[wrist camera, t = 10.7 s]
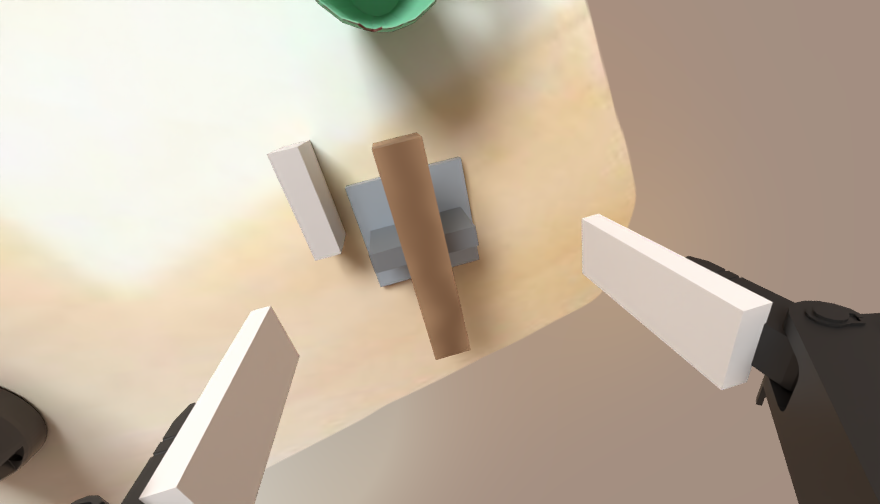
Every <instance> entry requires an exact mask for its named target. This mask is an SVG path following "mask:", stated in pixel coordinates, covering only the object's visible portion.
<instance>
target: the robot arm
mask: <svg viewBox="0 0 880 504" xmlns="http://www.w3.org/2000/svg"><path fill="white" fill-rule="evenodd" d="M582 274H584V275H585V276H586V277H587V278H588V279H590V280H591V281H592V282H593V283H594V284H596V285H597V286H598V287H599V288H600V289H602V290H603V291H604V292H605V293H606V294H607V295H609V296H610V297H611V298H612V299H613V300H615V301H616V302H617V303H618V304H619V305H621V306H622V307H623V308H624V309H626V310H627V311H628V312H629V313H630V314H632V315H633V316H634V317H635V318H636V319H637V320H638V321H640V322H641V323H642V324H643V325H645V326H646V327H647V328H648V329H649V330H650V331H652V332H653V333H654V334H655V335H656V336H658V337H659V338H660V339H661V340H663V342H665V343H666V344H667V345H668V346H670V347H671V348H672V349H673V350H674V351H675V352H677V353H678V354H679V355H681V356H682V357H683V358H684V359H685V360H686V361H687V362H689V363H690V364H691V365H692V366H693V367H695V368H696V369H697V370H698V371H699V372H701V373H702V374H703V375H704V376H705V377H706V378H708V379H709V380H710V381H711V382H712V383H714V384H715V385H716V386H717V387H718V388H720V389H721V390H724V389H727V388H730V387H733V386H736V385H739V384H742V383H745V382H747V380H748V377H749V373H750V370H751V367H752V366H753V367H755V368H756V369H758V370H759V371H761V372H762V373H763V374H765V376H764V378H763V381H762V384H761V387H760V389H759V392H758V395H757V399H756V404H757V405H762V404H763V401H764V398H765V397H767V400H768V404H769V407H770V410H771V414H772V417H773V420H774V424H775V427H776V430H777V433H778V437H779V440H780V443H781V446H782V450H783V453H784V456H785V460H786V463H787V466H788V470H789V473H790V476H791V479H792V483H793V486H794V489H795V493H796V496H797V499H798V503H799V504H880V313H874V314H859V313H857V312H855V311H854V310H852V309H849V308H846V307H843V306H839V305H836V304H832V303H827V302H821V301H801V302H797V303H794V302H792V301H790V300H788V299H786V298H784V297H782V296H780V295H777V294H775V293H773V292H771V291H769V290H767V289H765V288H763V287H761V286H759V285H757V284H755V283H753V282H750V281H748V280H746V279H744V278H739V276H738V275H736V274H734V273H732V272H730V271H725V269H724V268H722V267H719V266H717V265H715V264H713V263H711V262H709V261H706V260H702V259H698V258H694V257H691V256H687V257H683V256H681V255H679V254H677V253H675V252H673V251H671V250H669V249H667V248H665V247H663V246H661V245H659V244H657V243H655V242H653V241H651V240H649V239H647V238H645V237H643V236H641V235H639V234H637V233H635V232H634V231H632V230H630V229H628V228H626V227H624V226H622V225H620V224H618V223H616V222H614V221H612V220H610V219H608V218H606V217H604V216H602V215H600V214H596V215H593V216H589V217H586V218H582ZM298 359H299V354H298V352H297V351H296V349H295V347H294V345H293V344H292V342H291V340H290V338H289V337H288V335H287V333H286V331H285V330H284V328H283V326H282V324H281V323H280V321H279V319H278V317H277V316H276V314H275V312H274V310H273V309H272V307H271V306H268V307H264V308H261V309H257V310H254V311H251V313H250V314H249V316H248V318H247V319H246V321H245V323H244V324H243V326H242V328H241V329H240V331H239V333H238V334H237V336H236V338H235V339H234V341H233V343H232V344H231V346H230V348H229V349H228V351H227V353H226V354H225V356H224V358H223V359H222V361H221V363H220V364H219V366H218V368H217V369H216V371H215V373H214V374H213V376H212V377H211V379H210V381H209V382H208V384H207V386H206V387H205V389H204V391H203V392H202V394H201V396H200V397H199V399H198V401H197V402H196V403H192V404H190V405H189V406H188V407H187V408H186V409H185V410H184V411H183V412H182V413H181V414H180V415H179V416H178V417H177V418H176V419H175V420H174V422H173V423H172V425H171V426H170V428H169V430H168V431H167V433H166V434H165V436H164V437H163V442H160V444H159V445H158V447H157V448H156V450H155V452H154V453H153V454H154V456H153V457H151V458H150V459H149V461H148V463H147V464H146V466H145V467H144V469H143V470H142V472H141V474H140V475H139V477H138V478H137V480H136V481H135V483H134V485H133V486H132V488H131V489H130V491H129V492H128V494H127V496H126V497H125V499H124V500H123V502H122V503H121V504H255V500H256V497H257V494H258V490H259V487H260V484H261V480H262V477H263V474H264V471H265V467H266V464H267V461H268V458H269V454H270V451H271V448H272V445H273V441H274V438H275V435H276V431H277V428H278V425H279V422H280V418H281V415H282V412H283V409H284V405H285V402H286V399H287V395H288V392H289V389H290V386H291V382H292V379H293V376H294V373H295V369H296V366H297V363H298ZM46 435H47V430H46V426H45V423H44V421H43V419H42V417H41V416H40V415H39V413H38V412H37V411H36V410H35V409H34V408H33V407H32V406H31V405H29V404H28V403H27V402H25V401H24V400H22V399H21V398H19V397H18V396H16V395H14V394H12V393H10V392H8V391H6V390H4V389H1V388H0V481H2V480H3V479H5V478H7V477H8V476H10V475H11V474H13V473H14V472H16V471H17V470H18V469H19V468H21V467H22V466H23V465H24V464H25V463H26V462H27V461H28V460H29V459H30V458H31V457H32V456H33V455H34V454H35V453H36V452H37V451H38V450H39V449H40V448H41V447H42V445H43V444H44V442H45V439H46ZM71 504H109V503H108V502H106V501H105V500H104V499H102V498H101V497H100V496H87V497H84V498H82V499H79V500H77V501H75V502H73V503H71Z"/></svg>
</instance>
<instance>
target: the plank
mask: <svg viewBox="0 0 880 504" xmlns="http://www.w3.org/2000/svg"><path fill="white" fill-rule="evenodd" d="M372 151H373V155H374V158H375V161H376V164H377V168H378V171H379V174H380V178H381V181H382V184H383V187H384V191H385V194H386V197H387V201H388V204H389V207H390V210H391V214H392V217H393V220H394V224H395V227H396V230H397V234H398V237H399V240H400V243H401V247H402V250H403V253H404V257H405V260H406V263H407V266H408V270H409V273H410V276H411V280H412V283H413V286H414V289H415V293H416V296H417V299H418V303H419V306H420V309H421V312H422V316H423V319H424V322H425V326H426V329H427V332H428V336H429V339H430V342H431V345H432V349H433V352H434V355H435V359H436V360H438V359H441V358H445V357H448V356H451V355H455V354H458V353H462V352H465V351H468V350H471V349H470V344H469V340H468V336H467V331H466V327H465V322H464V318H463V314H462V309H461V305H460V301H459V296H458V292H457V288H456V283H455V279H454V275H453V270H452V266H451V262H450V257H449V253H448V249H447V244H446V240H445V236H444V231H443V227H442V222H441V218H440V214H439V209H438V205H437V201H436V196H435V192H434V188H433V183H432V179H431V175H430V170H429V166H428V162H427V157H426V153H425V149H424V144H423V140H422V137H421V136H420V135H419V134H418V133H417V132H416V133H412V134H408V135H404V136H400V137H396V138H393V139H389V140H385V141H381V142H377V143H373V146H372Z"/></svg>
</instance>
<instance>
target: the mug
mask: <svg viewBox="0 0 880 504" xmlns="http://www.w3.org/2000/svg"><path fill="white" fill-rule="evenodd" d="M316 2H317V3H318V4H319V5H321V6H322V7H323V8H324V9H326V10H327V11H328V12H330V13H331V14H332V15H333V16H335V17H336V18H337V19H339V20H340V21H341V22H342V23H345V24H348V25H351V26H354V27H357V28H360V29H363V30H367V31H371V32H392V31H395V30H397V29H400V28H403V27H405V26H408V25H410V24H413V23H414V22H416V21H417V20H418V19H419V18H420V17H421V16H422V15H423V14H424V13H425V12H426V11H428V10H429V9H430V8H431V7H432V6H433V5H434V4H435V2H436V0H316Z"/></svg>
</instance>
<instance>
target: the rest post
mask: <svg viewBox="0 0 880 504" xmlns="http://www.w3.org/2000/svg"><path fill="white" fill-rule="evenodd" d="M267 156H268V158H269V160H270V162H271V165H272V167H273V169H274V171H275V173H276V176H277V178H278V180H279V182H280V184H281V187H282V189H283V191H284V193H285V195H286V198H287V200H288V202H289V204H290V206H291V209H292V211H293V213H294V215H295V217H296V220H297V222H298V224H299V226H300V228H301V230H302V233H303V235H304V237H305V239H306V241H307V244H308V246H309V248H310V250H311V252H312V255H313V257H314V259H315V261H316V260H320V259H324V258H327V257H331V256H335V255H338V254H341V253H342V249H343V245H344V240H345V236H346V233H345V230H344V227H343V225H342V222H341V220H340V217H339V214H338V212H337V209H336V207H335V204H334V202H333V199H332V196H331V194H330V191H329V189H328V186H327V183H326V181H325V178H324V176H323V173H322V171H321V168H320V165H319V163H318V160H317V158H316V155H315V153H314V150H313V147H312V145H311V142H310V140H307V141H303V142H299V143H295V144H291V145H287V146H283V147H281V148H279V149H277V150H275V151H273V152H271V153H269V154H267Z"/></svg>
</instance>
